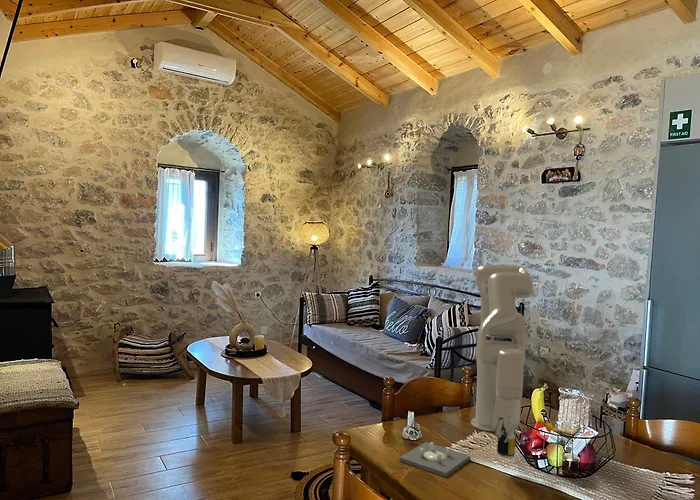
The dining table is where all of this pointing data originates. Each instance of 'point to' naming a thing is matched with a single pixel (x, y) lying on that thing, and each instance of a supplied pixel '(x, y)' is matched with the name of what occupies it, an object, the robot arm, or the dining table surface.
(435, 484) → the dining table surface
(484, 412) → the robot arm
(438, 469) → the pin tray
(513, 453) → the supplement bottle
